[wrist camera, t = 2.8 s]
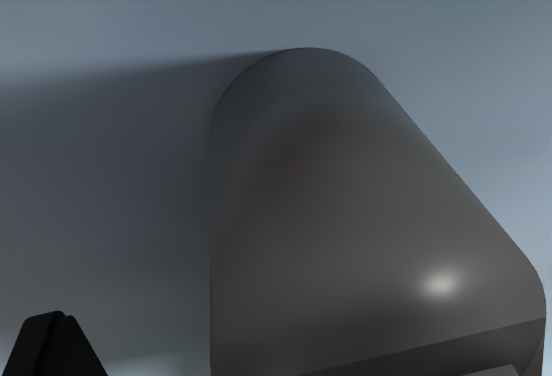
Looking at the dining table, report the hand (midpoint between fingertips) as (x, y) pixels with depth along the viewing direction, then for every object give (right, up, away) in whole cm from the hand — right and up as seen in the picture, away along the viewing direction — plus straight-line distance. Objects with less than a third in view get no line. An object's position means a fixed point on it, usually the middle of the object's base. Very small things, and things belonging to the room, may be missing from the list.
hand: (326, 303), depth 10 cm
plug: (0, +2, +2) cm, 3 cm away
